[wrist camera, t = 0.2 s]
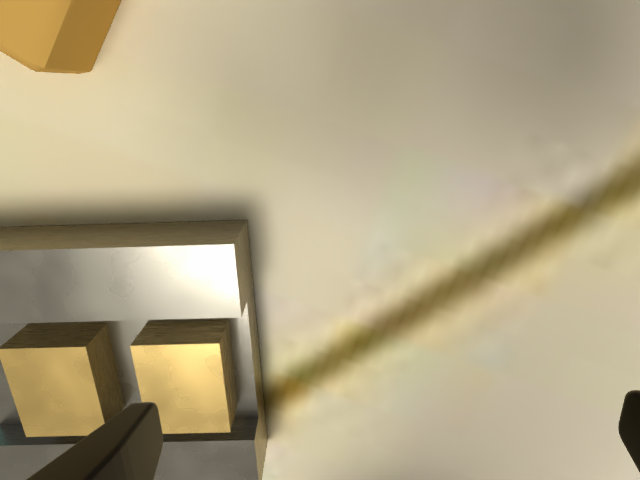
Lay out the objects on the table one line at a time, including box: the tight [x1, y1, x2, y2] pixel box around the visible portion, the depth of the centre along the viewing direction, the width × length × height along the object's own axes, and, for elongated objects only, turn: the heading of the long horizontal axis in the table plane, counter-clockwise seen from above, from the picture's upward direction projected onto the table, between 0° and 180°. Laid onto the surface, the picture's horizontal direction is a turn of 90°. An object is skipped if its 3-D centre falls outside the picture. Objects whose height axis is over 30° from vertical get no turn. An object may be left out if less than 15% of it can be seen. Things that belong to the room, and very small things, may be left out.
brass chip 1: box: [0, 324, 125, 437], centre depth 21 cm, size 5×4×2 cm
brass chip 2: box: [130, 321, 238, 434], centre depth 21 cm, size 5×4×2 cm
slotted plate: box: [0, 220, 268, 480], centre depth 22 cm, size 14×14×4 cm
